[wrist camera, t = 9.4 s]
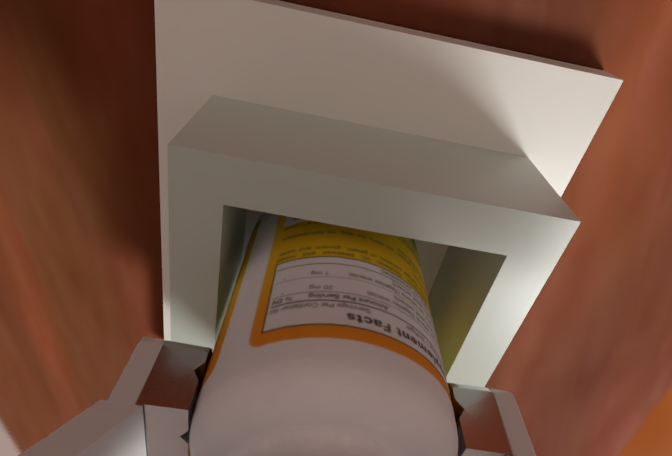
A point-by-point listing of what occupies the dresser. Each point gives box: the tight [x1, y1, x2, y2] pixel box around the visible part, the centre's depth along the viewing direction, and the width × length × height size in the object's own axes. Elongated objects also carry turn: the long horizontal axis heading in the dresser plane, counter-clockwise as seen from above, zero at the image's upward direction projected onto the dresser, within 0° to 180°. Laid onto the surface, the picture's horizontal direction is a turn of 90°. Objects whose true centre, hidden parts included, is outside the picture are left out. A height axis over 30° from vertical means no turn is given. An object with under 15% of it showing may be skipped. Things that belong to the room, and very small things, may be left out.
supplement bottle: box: [189, 212, 458, 456], centre depth 11 cm, size 5×5×10 cm
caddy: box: [154, 0, 623, 387], centre depth 14 cm, size 14×12×4 cm
